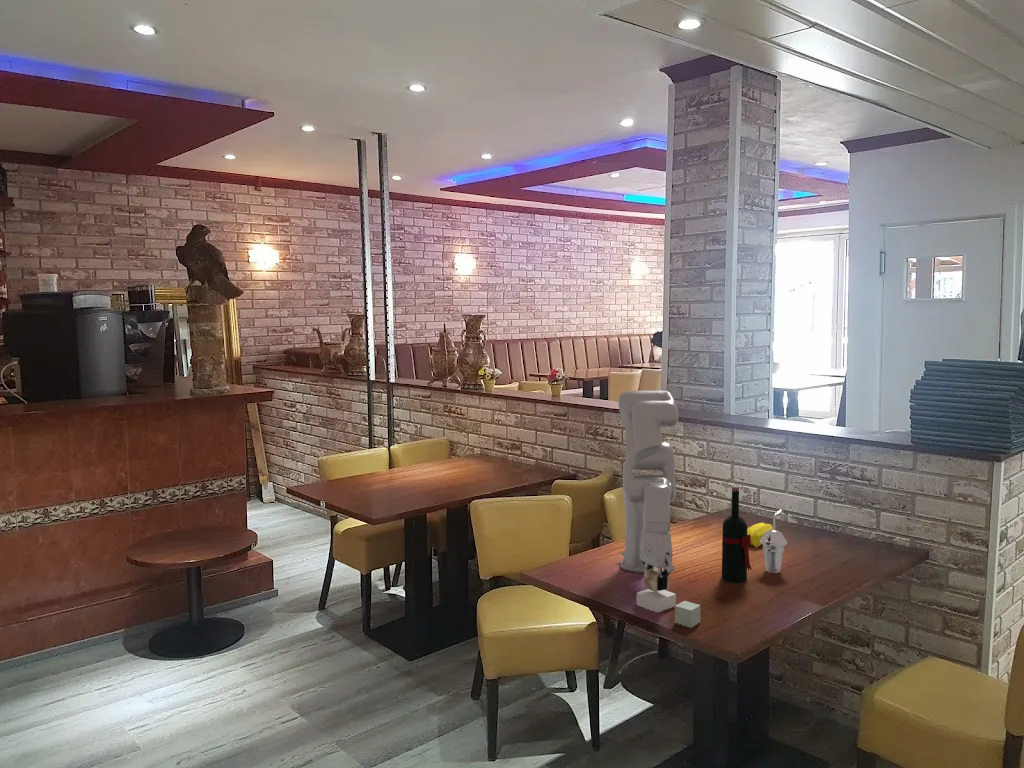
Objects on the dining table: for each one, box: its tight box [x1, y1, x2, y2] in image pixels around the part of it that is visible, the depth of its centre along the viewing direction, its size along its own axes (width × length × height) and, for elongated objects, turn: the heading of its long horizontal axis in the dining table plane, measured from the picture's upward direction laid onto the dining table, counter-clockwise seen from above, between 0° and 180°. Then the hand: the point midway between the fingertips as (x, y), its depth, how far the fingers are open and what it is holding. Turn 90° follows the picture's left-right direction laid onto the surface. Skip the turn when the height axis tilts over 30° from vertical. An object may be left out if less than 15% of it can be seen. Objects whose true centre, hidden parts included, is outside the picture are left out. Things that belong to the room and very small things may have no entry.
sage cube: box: [674, 600, 701, 629], centre depth 205 cm, size 5×5×5 cm
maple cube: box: [643, 568, 670, 592], centre depth 217 cm, size 5×5×5 cm
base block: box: [636, 588, 677, 614], centre depth 218 cm, size 8×8×4 cm
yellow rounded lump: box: [747, 522, 773, 548], centre depth 278 cm, size 18×7×8 cm
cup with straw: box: [760, 508, 788, 574], centre depth 246 cm, size 8×9×20 cm
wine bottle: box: [721, 486, 753, 584], centre depth 237 cm, size 8×10×30 cm
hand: (656, 585), depth 217 cm, fingers closed on maple cube, 4 cm apart
